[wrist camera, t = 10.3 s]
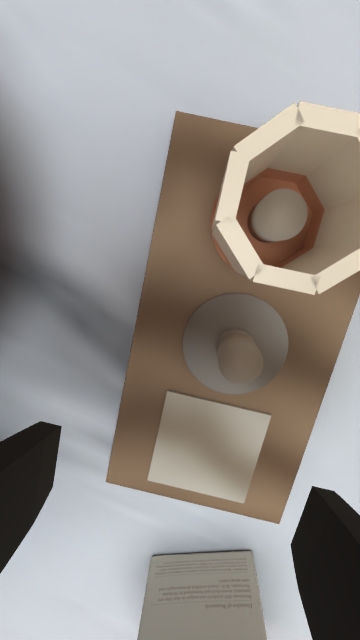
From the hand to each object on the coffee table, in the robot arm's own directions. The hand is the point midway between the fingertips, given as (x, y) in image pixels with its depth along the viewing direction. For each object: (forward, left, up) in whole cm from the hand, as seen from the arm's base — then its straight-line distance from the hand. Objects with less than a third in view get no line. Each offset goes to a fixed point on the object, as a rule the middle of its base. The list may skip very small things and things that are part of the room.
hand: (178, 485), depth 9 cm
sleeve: (+8, -2, -9) cm, 12 cm away
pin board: (+2, -2, -10) cm, 11 cm away
